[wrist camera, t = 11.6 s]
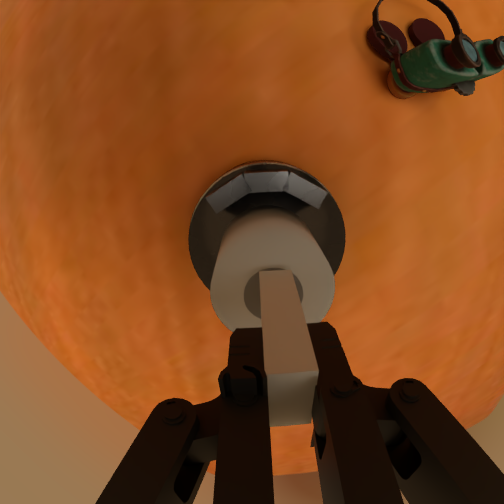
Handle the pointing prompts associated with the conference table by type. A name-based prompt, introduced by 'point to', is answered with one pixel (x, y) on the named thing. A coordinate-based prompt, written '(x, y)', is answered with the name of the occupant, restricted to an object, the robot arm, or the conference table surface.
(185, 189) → the conference table surface
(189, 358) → the conference table surface
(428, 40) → the binoculars
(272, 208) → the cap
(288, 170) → the black round base
